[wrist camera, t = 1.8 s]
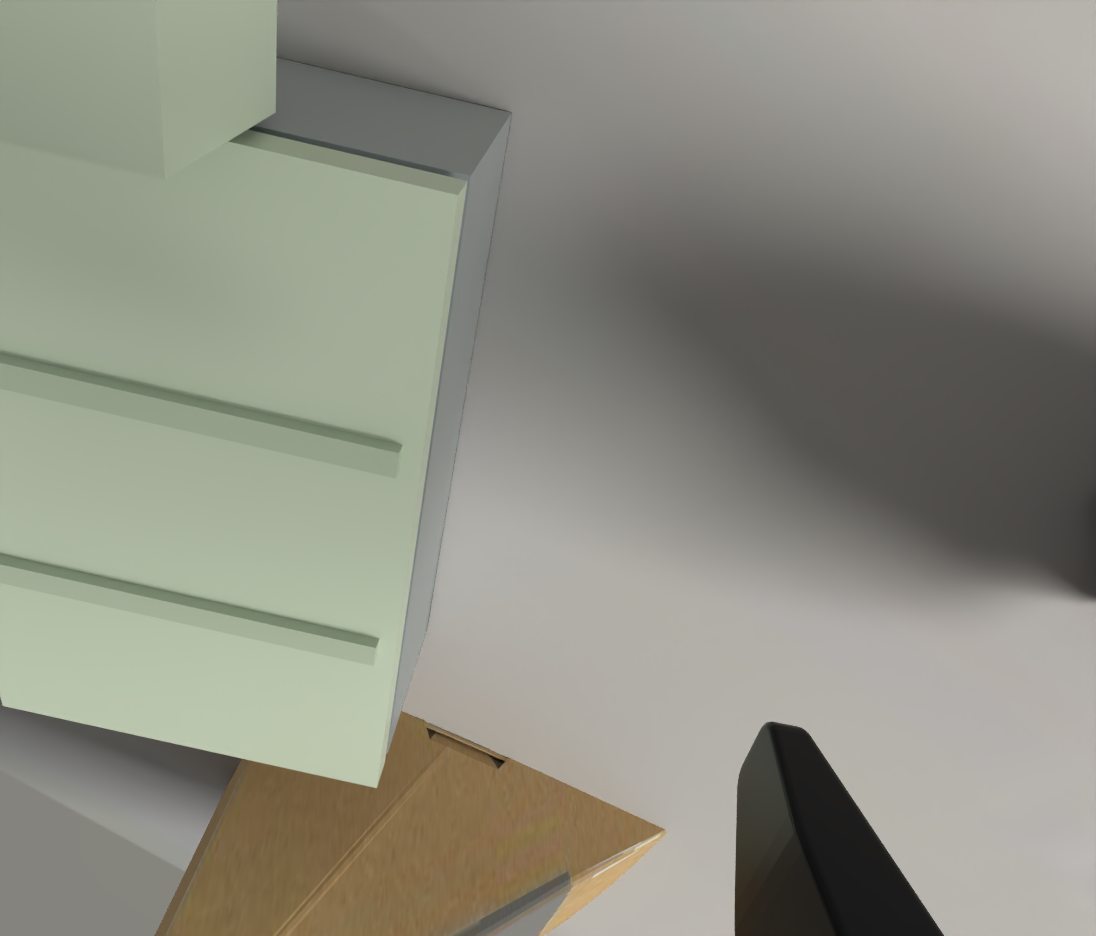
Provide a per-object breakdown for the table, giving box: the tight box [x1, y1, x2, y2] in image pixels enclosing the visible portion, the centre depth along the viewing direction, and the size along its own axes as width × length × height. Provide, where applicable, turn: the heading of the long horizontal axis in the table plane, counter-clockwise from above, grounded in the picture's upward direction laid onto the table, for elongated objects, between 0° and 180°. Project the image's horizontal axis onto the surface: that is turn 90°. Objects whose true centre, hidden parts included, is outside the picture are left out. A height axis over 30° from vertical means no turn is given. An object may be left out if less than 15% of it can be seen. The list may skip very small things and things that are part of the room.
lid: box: [0, 0, 467, 788], centre depth 17 cm, size 19×10×4 cm, turn 169°
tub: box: [248, 57, 512, 754], centre depth 21 cm, size 16×10×5 cm, turn 169°
